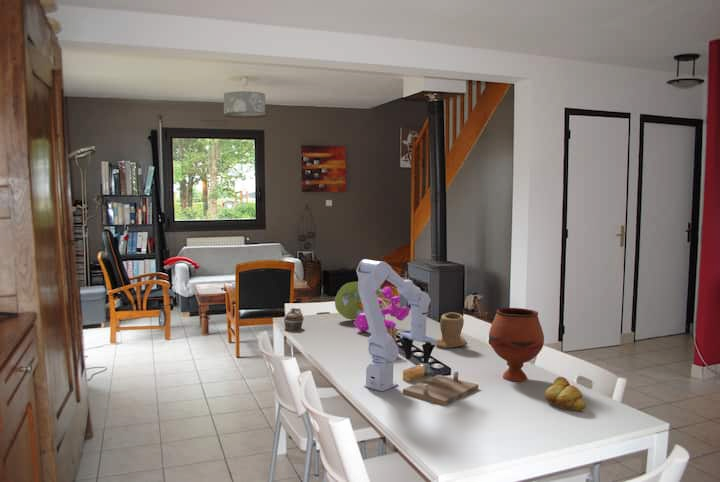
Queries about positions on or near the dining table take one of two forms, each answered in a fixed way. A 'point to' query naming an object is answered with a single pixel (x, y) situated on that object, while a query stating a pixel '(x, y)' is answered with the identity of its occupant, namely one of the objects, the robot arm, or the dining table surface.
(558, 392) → the bread roll
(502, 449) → the dining table surface
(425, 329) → the robot arm
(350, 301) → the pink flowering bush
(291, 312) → the cupcake
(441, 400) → the walnut board
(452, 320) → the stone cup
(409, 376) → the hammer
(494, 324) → the goblet
